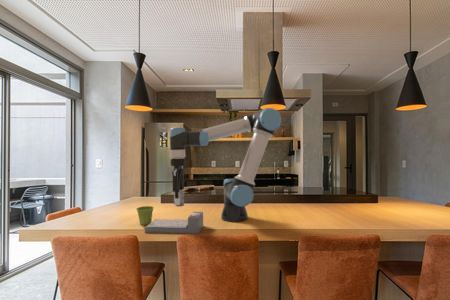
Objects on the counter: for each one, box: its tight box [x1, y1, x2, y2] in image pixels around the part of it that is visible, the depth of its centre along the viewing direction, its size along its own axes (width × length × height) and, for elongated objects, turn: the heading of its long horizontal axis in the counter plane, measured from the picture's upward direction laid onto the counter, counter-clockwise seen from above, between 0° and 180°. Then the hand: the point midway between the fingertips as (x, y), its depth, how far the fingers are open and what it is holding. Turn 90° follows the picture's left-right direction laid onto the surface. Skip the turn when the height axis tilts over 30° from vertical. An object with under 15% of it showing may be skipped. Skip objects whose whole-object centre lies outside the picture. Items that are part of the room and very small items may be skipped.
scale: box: [144, 211, 204, 235], centre depth 160 cm, size 27×13×8 cm, turn 83°
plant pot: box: [135, 205, 155, 226], centre depth 172 cm, size 9×9×9 cm
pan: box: [146, 218, 188, 228], centre depth 160 cm, size 20×12×1 cm, turn 83°
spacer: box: [173, 190, 185, 208], centre depth 159 cm, size 5×5×7 cm
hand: (178, 203), depth 159 cm, fingers closed on spacer, 5 cm apart
